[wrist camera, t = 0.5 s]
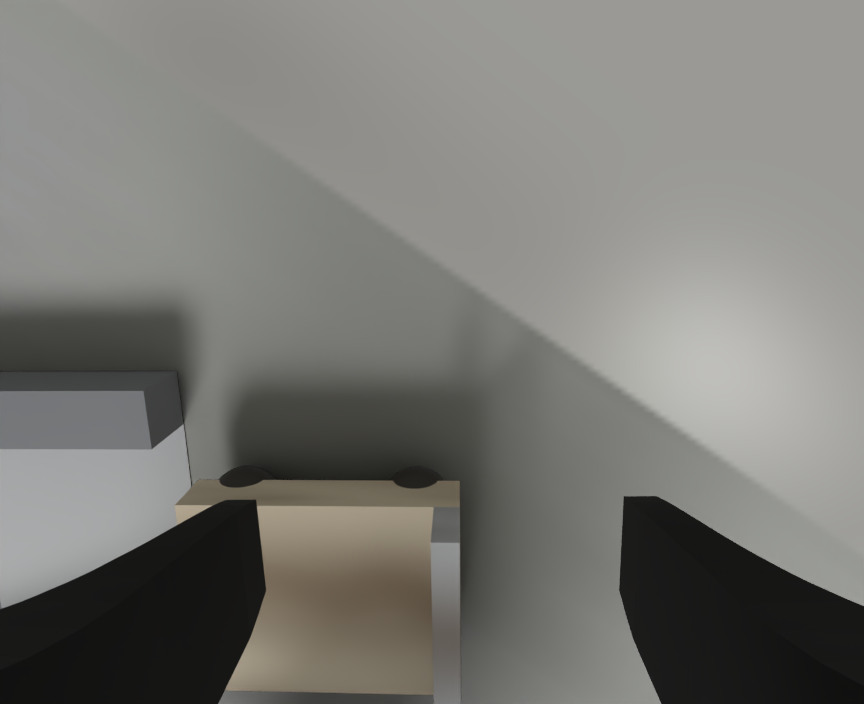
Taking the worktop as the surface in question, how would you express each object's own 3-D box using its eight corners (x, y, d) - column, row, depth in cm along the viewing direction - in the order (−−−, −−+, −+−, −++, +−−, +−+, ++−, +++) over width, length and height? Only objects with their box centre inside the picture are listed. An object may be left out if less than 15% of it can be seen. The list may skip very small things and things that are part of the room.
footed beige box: (460, 636, 23) (461, 756, 18) (234, 632, 24) (173, 747, 19) (459, 455, 22) (459, 532, 16) (214, 455, 22) (140, 530, 17)
